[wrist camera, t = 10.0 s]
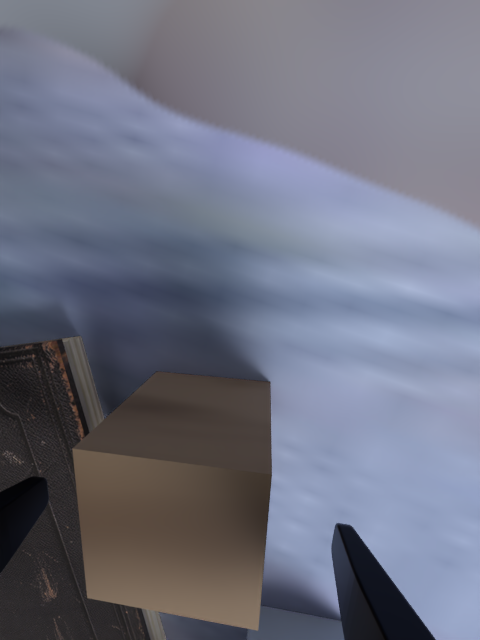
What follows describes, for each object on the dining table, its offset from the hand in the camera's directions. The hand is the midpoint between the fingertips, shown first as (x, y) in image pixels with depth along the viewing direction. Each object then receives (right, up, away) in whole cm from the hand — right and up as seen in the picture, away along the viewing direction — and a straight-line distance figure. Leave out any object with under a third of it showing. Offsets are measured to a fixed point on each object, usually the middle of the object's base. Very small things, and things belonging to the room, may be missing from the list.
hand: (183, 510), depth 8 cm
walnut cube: (0, +1, +4) cm, 4 cm away
